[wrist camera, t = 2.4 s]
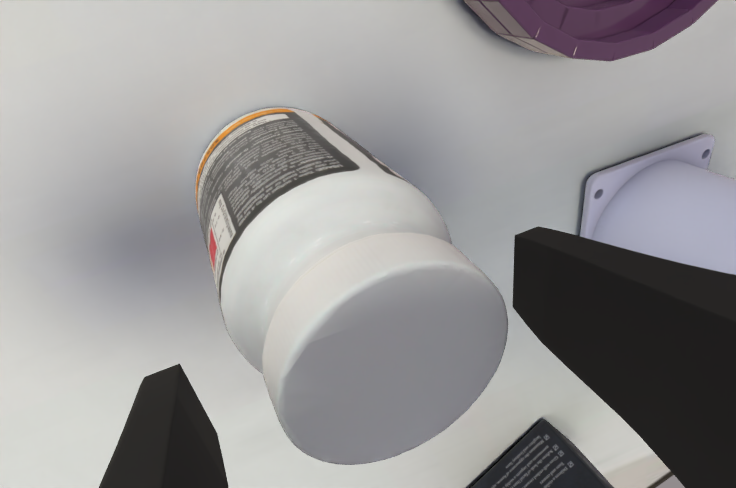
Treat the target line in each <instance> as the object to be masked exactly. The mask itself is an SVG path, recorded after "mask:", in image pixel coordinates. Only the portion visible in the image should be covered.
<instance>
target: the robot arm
mask: <svg viewBox="0 0 736 488" xmlns="http://www.w3.org/2000/svg"><path fill="white" fill-rule="evenodd" d="M714 143H715V138H714V136H713V135H710V134H702V135H699V136H697V137H694V138H691V139H688V140H685V141H683V142H680V143H677V144H674V145H672V146H669V147H666V148H663V149H660V150H658V151H655V152H652V153H649V154H647V155H644V156H641V157H638V158H635V159H633V160H630V161H627V162H624V163H622V164H619V165H616V166H613V167H610V168H608V169H605V170H602V171H599V172H597V173H594V174H593V175H591V176H590V177H589V179H588V180H587V183H586V189H585V198H584V206H583V214H582V223H581V231H580V236H576V235H572V234H569V233H565V232H561V231H557V230H552V229H547V228H542V227H536V228H533V229H530V230H528V231H525V232H523V233H520V234H517V235H515V247H514V281H513V308H514V309H515V310H516V312H517V313H518V314H519V315H520V317H521V318H522V319H523V320H524V322H525V323H526V324H527V326H528V327H529V328H530V329H531V330H532V331H533V333H534V334H535V335H536V336H537V337H538V339H539V340H540V341H541V342H542V343H543V344H544V345H545V346H546V347H547V348H548V349H549V350H550V351H551V352H552V353H553V354H554V355H555V356H556V357H558V358H559V359H560V360H561V361H562V362H563V363H564V364H565V365H566V366H567V367H568V368H569V369H570V370H571V371H572V372H573V373H574V374H576V375H577V376H578V377H579V378H580V379H581V380H582V381H583V382H584V383H585V384H586V385H587V386H588V387H589V388H591V389H592V390H593V391H594V392H595V393H596V394H597V395H598V396H599V397H600V398H601V399H602V400H603V401H604V402H606V403H607V404H608V405H609V406H610V407H611V408H612V409H613V410H614V411H615V412H616V413H617V414H618V415H619V416H621V417H622V418H623V419H624V420H625V421H626V422H627V423H628V424H629V425H630V427H631V428H632V429H633V430H634V431H635V432H636V433H637V434H638V435H639V436H640V437H641V438H642V439H643V440H644V441H645V442H646V443H647V445H648V446H649V447H650V448H651V449H652V450H653V451H654V452H655V454H656V455H657V456H658V457H659V458H660V459H661V460H662V461H663V463H664V464H665V465H666V466H667V467H668V468H669V469H670V470H671V472H672V473H673V474H674V475H675V476H676V477H677V478H678V480H679V481H680V482H681V483H682V484H683V486H684V487H685V488H736V180H735V179H732V178H729V177H726V176H723V175H720V174H717V173H714V172H711V171H708V170H707V169H708V165H709V161H710V158H711V154H712V150H713V147H714ZM99 488H228V482H227V477H226V473H225V468H224V463H223V458H222V454H221V449H220V445H219V440H218V436H217V432H216V431H215V429H214V427H213V425H212V423H211V421H210V419H209V417H208V416H207V414H206V412H205V410H204V408H203V406H202V404H201V403H200V401H199V399H198V397H197V395H196V393H195V391H194V389H193V388H192V386H191V384H190V382H189V380H188V378H187V376H186V375H185V373H184V371H183V369H182V367H181V365H180V364H178V365H175V366H173V367H170V368H167V369H165V370H162V371H159V372H157V373H154V374H152V375H149V376H146V377H145V378H144V379H143V381H142V383H141V385H140V388H139V390H138V393H137V395H136V398H135V401H134V403H133V406H132V409H131V411H130V414H129V416H128V419H127V421H126V424H125V427H124V429H123V432H122V434H121V437H120V439H119V441H118V444H117V446H116V449H115V451H114V454H113V456H112V458H111V461H110V463H109V465H108V468H107V470H106V472H105V475H104V477H103V479H102V481H101V484H100V486H99Z"/></svg>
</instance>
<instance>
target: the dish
mask: <svg viewBox="0 0 736 488" xmlns="http://www.w3.org/2000/svg"><path fill="white" fill-rule="evenodd" d="M463 1H464V2H465V3H466V4H467V5H468V6H469V7H470V8H471V9H472V10H473V11H474V12H475V13H476V14H477V15H478V16H479V17H480V18H481V19H482V20H483V21H484V22H485V23H486V24H487V25H488V26H489V27H490V28H491V29H492V31H493V32H495V33H496V34H497V35H499V36H501V37H503V38H505V39H507V40H510V41H512V42H514V43H516V44H518V45H520V46H522V47H524V48H526V49H528V50H530V51H534V52H539V53H544V54H550V55H555V56H561V57H566V58H572V59H585V60H599V61H614V60H618V59H621V58H625V57H628V56H631V55H635V54H638V53H642V52H645V51H649V50H652V49H654V48H656V47H657V46H659V45H660V44H662V43H664V42H665V41H667V40H669V39H670V38H672V37H673V36H675V35H677V34H678V33H680V32H681V31H683V30H685V29H686V28H688V27H689V26H691V25H692V24H693V23H695V22H696V21H697V20H698V19H699V18H700V17H701V16H702V15H703V14H704V13H705V12H706V11H707V10H708V9H709V8H710V7H712V6H713V5H714V4H715V3H716V2H717V1H718V0H463Z"/></svg>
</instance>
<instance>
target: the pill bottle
mask: <svg viewBox="0 0 736 488" xmlns="http://www.w3.org/2000/svg"><path fill="white" fill-rule="evenodd" d="M195 196H196V204H197V210H198V214H199V219H200V223H201V227H202V231H203V235H204V239H205V243H206V247H207V250H208V254H209V258H210V262H211V266H212V271H213V275H214V279H215V283H216V288H217V293H218V298H219V303H220V307H221V311H222V316H223V320H224V323H225V326H226V328H227V331H228V333H229V335H230V337H231V339H232V341H233V342H234V344H235V345H236V347H237V348H238V350H239V351H240V352H241V354H242V355H243V356H244V357H245V359H246V360H247V361H248V362H249V363H250V364H251V365H252V366H253V367H255V368H256V369H257V370H258V371H259V372H261V373H262V374H263V375H264V380H265V383H266V386H267V389H268V392H269V395H270V398H271V401H272V403H273V406H274V409H275V411H276V414H277V417H278V419H279V422H280V424H281V426H282V428H283V429H284V431H285V433H286V435H287V436H288V438H289V439H290V440H291V441H292V443H293V444H294V445H295V446H296V447H297V448H299V449H300V450H301V451H302V452H304V453H306V454H307V455H309V456H311V457H313V458H316V459H318V460H321V461H324V462H328V463H334V464H344V465H355V464H365V463H371V462H376V461H381V460H385V459H388V458H391V457H394V456H397V455H399V454H401V453H404V452H406V451H409V450H411V449H413V448H415V447H417V446H419V445H421V444H423V443H424V442H426V441H428V440H430V439H431V438H433V437H435V436H436V435H438V434H439V433H441V432H442V431H444V430H445V429H446V428H447V427H449V426H450V425H451V424H452V423H453V422H454V421H456V420H457V419H458V418H459V417H460V416H461V415H463V414H464V413H465V412H466V411H467V410H468V409H469V407H470V406H471V405H472V404H473V403H474V402H475V401H476V400H477V398H478V397H479V396H480V395H481V393H482V392H483V391H484V389H485V388H486V386H487V385H488V383H489V382H490V380H491V378H492V377H493V375H494V374H495V372H496V370H497V368H498V366H499V364H500V361H501V358H502V355H503V352H504V349H505V345H506V340H507V333H508V317H507V311H506V307H505V303H504V300H503V298H502V295H501V294H500V292H499V290H498V288H497V287H496V286H495V285H494V283H493V282H492V281H491V280H490V279H489V278H488V277H487V276H486V275H485V274H484V273H483V272H482V271H481V270H480V269H479V268H478V267H477V266H476V265H474V264H473V263H472V262H471V261H470V260H469V259H468V258H467V257H466V256H465V255H464V254H463V253H462V252H461V251H459V250H458V249H457V248H456V247H455V246H453V245H452V241H451V238H450V235H449V232H448V229H447V227H446V224H445V222H444V220H443V218H442V217H441V215H440V213H439V212H438V210H437V209H436V208H435V206H434V205H433V204H432V202H431V201H430V200H429V199H428V198H427V197H426V196H425V195H424V194H423V193H422V192H421V191H420V190H419V189H418V188H417V187H415V186H414V185H412V184H411V183H410V182H408V181H407V180H406V179H404V178H403V177H402V176H400V175H399V174H397V173H396V172H394V171H393V170H392V169H390V168H389V167H388V166H387V165H385V164H384V163H382V162H381V161H380V160H378V159H377V158H376V157H374V156H373V155H372V154H370V153H369V152H368V151H367V150H365V149H364V148H363V147H361V146H360V145H359V144H358V143H357V142H355V141H354V140H352V139H351V138H350V137H348V136H347V135H346V134H345V133H343V132H342V131H341V130H339V129H338V128H336V127H335V126H334V125H332V124H331V123H329V122H328V121H326V120H324V119H322V118H321V117H319V116H317V115H315V114H312V113H310V112H307V111H304V110H299V109H295V108H287V107H274V108H264V109H261V110H258V111H254V112H251V113H248V114H246V115H244V116H242V117H240V118H238V119H236V120H234V121H233V122H231V123H230V124H228V125H227V126H226V127H225V128H224V129H222V130H221V131H220V132H219V133H218V134H217V136H216V137H215V138H214V139H213V140H212V141H211V143H210V144H209V146H208V147H207V149H206V151H205V152H204V154H203V156H202V158H201V161H200V164H199V167H198V170H197V175H196V182H195Z"/></svg>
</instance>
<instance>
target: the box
mask: <svg viewBox="0 0 736 488" xmlns="http://www.w3.org/2000/svg"><path fill="white" fill-rule="evenodd" d="M471 488H614V487H613V486H612V485H611V484H610V483H609V482H608V481H607V480H606V479H605V477H604V476H603V475H602V474H601V473H600V472H599V471H598V470H597V469H596V468H595V467H594V466H593V465H592V463H591V462H590V461H589V460H588V459H587V458H586V457H585V456H584V455H583V454H582V453H581V451H580V450H579V449H578V448H577V447H576V446H575V445H574V444H573V443H572V442H571V441H570V440H568V439H567V438H566V437H565V436H564V435H563V434H561V433H560V432H559V431H558V430H557V429H555V428H554V427H553V426H552V425H551V424H550V423H549V422H547V421H546V420H541V421H540V422H539V423H538V424H537V425H536V426H535V427H534V428H533V429H532V430H531V431H530V432H529V433H528V434H527V435H526V436H525V437H523V438H522V439H521V440H520V441H519V442H518V443H517V444H516V445H515V446H514V447H513V448H512V449H511V450H510V451H509V452H508V453H507V454H506V455H505V456H504V457H503V458H502V459H501V460H500V461H499V462H498V463H497V464H495V465H494V466H493V467H492V468H491V469H490V470H489V471H488V472H487V473H486V474H485V475H484V476H483V477H482V478H481V479H480V480H479V481H478V482H477V483H476V484H475V485H473V486H472V487H471Z"/></svg>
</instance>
